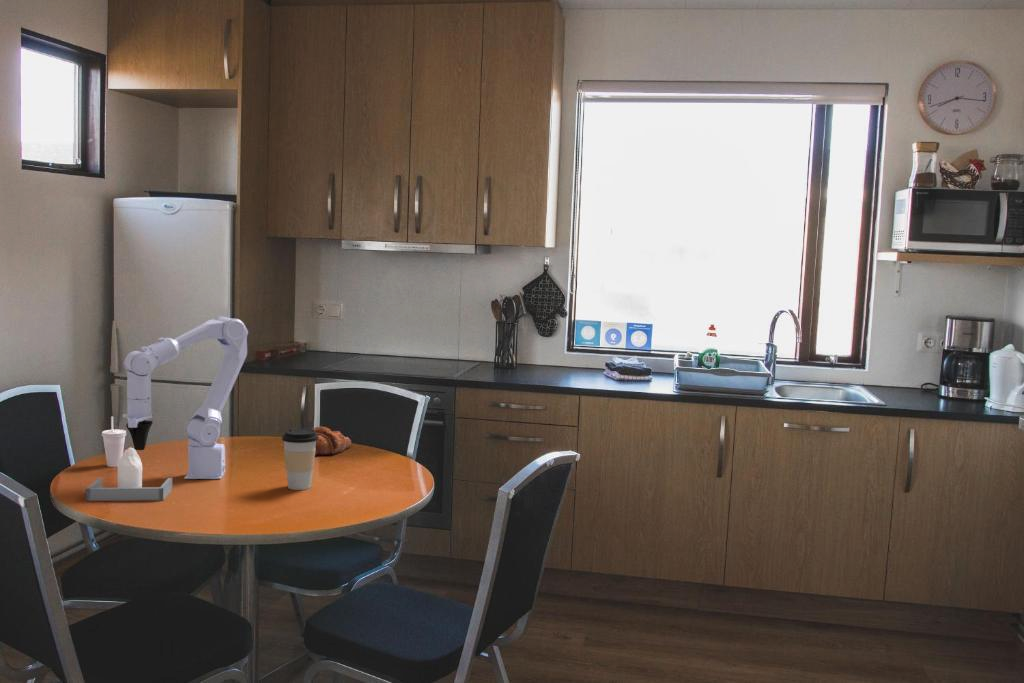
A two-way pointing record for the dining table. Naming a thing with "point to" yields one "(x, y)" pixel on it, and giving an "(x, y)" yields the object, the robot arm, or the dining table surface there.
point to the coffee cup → (299, 457)
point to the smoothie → (113, 445)
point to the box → (127, 492)
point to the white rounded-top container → (129, 469)
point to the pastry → (330, 441)
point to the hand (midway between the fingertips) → (139, 449)
